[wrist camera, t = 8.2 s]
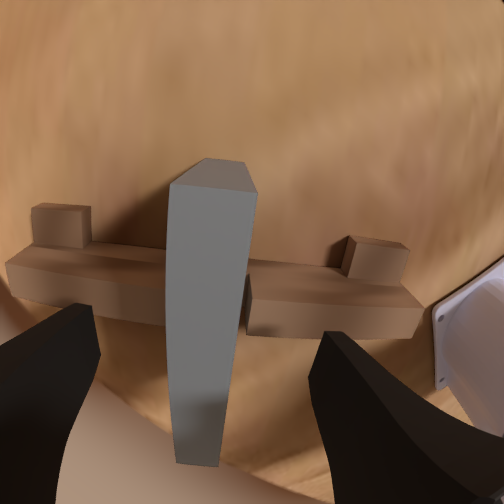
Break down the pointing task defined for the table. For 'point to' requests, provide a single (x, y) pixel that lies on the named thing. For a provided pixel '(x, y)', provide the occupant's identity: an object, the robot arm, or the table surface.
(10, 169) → the table surface
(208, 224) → the grey long rectangular block
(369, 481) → the robot arm
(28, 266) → the walnut slotted stand
